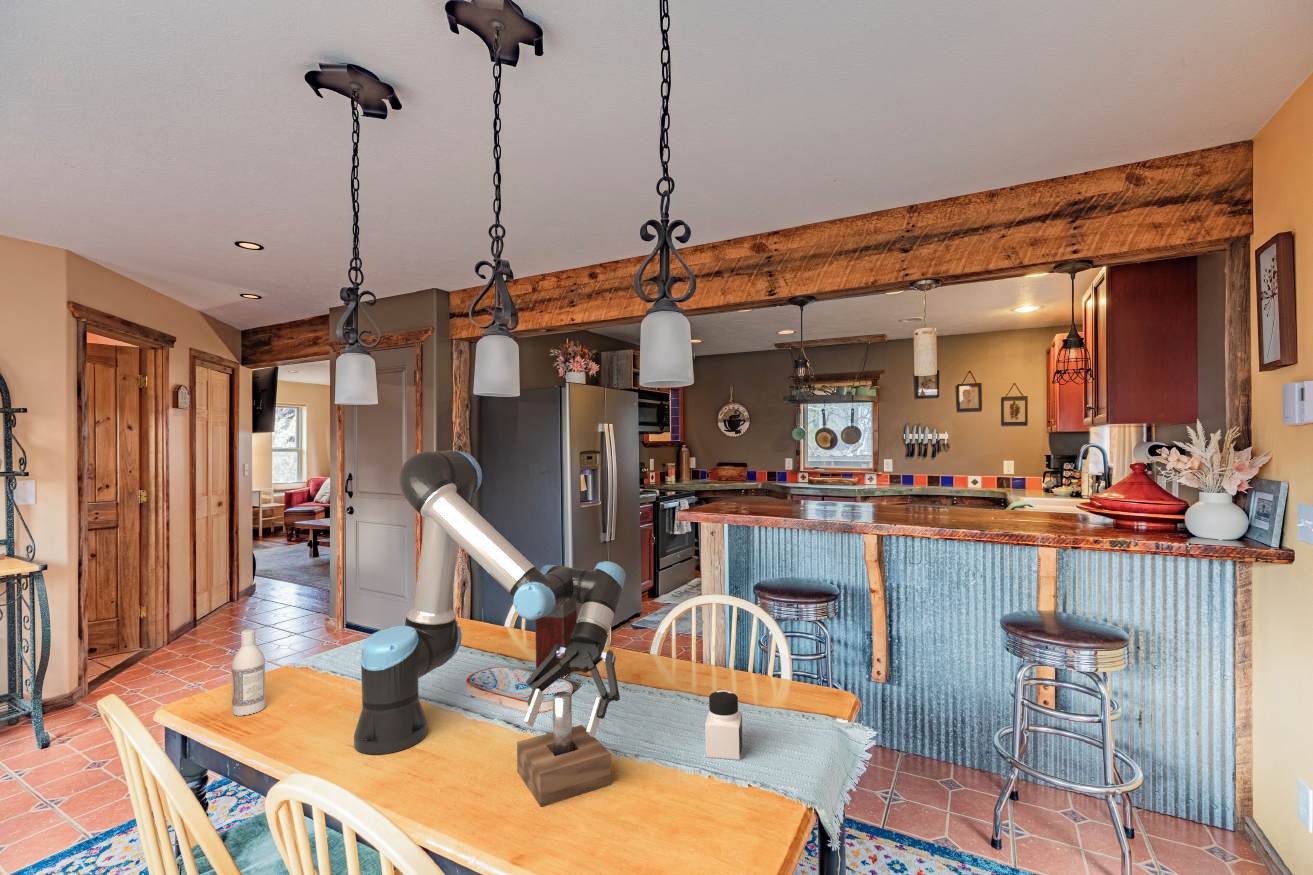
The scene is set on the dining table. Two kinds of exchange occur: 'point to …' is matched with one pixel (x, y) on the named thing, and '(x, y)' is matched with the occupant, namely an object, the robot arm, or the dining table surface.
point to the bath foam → (248, 677)
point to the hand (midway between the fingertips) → (558, 729)
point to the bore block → (563, 766)
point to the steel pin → (562, 723)
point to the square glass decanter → (555, 631)
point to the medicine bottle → (723, 726)
